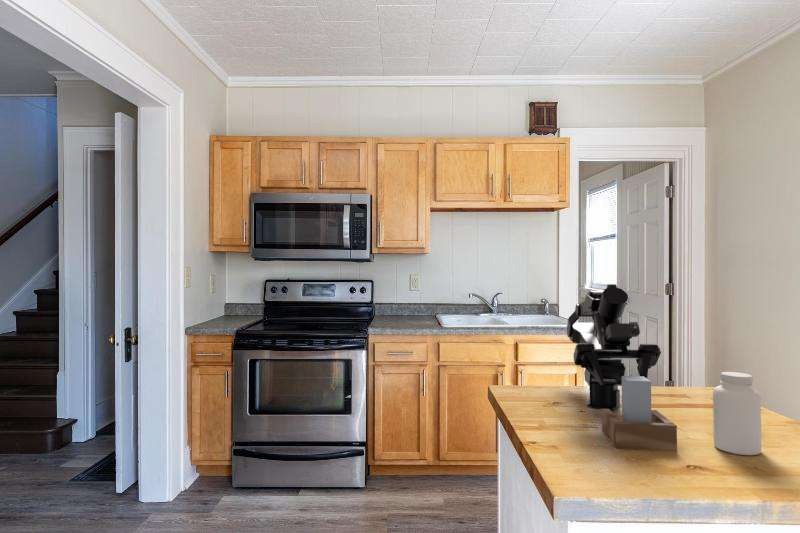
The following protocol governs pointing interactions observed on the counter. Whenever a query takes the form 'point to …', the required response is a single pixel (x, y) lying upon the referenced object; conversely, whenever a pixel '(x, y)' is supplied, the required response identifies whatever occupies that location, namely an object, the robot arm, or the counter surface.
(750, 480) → the counter surface
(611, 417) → the brown wooden tray
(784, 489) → the counter surface
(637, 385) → the block
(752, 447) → the pill bottle
